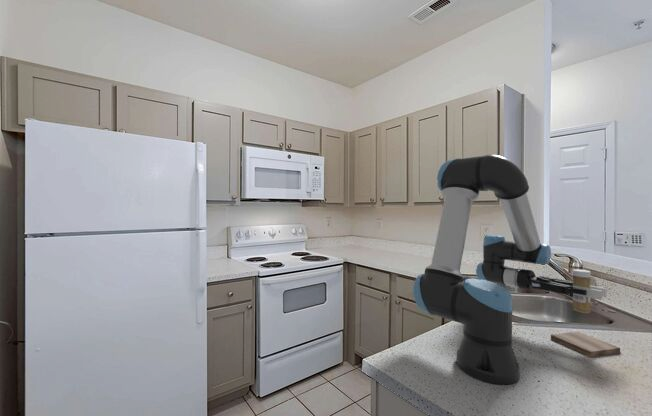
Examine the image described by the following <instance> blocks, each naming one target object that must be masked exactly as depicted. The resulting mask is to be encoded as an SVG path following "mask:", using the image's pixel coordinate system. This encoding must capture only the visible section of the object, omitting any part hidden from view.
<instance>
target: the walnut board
mask: <svg viewBox="0 0 652 416" xmlns="http://www.w3.org/2000/svg"><path fill="white" fill-rule="evenodd" d="M550 340H552V341H554V342H557V343H559V344H561V345H563V346H566V347H568V348H570V349H572V350H575V351H577V352H579V353H581V354H584V355H585V356H588V357H590V358H591V357H600V356H605V355H606V356H607V355H613V354H621V347H619V346H617V345H613V344H611V343H608V342H606V341H604V340H600V339H598V338H595V337H593V336H590V335H588V334H585V333H583V332H580V331H573V332H563V333H552V334H550Z"/></svg>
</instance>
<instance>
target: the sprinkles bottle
mask: <svg viewBox="0 0 652 416" xmlns="http://www.w3.org/2000/svg"><path fill="white" fill-rule="evenodd" d="M571 272H572V273H571V275H572V281H573V288H574V286H579V287H584V288H590V286H591V277H592V272H591V271H590V270H587V269H578V268H577V269H576V268H575V269H572V271H571ZM571 309H572V310H573V311H575V312H577V313H582V314H590V313H591V312H592V311H591V298H589V297H584V296H579V295H574V293H573V297H572V308H571Z"/></svg>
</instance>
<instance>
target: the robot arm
mask: <svg viewBox="0 0 652 416" xmlns="http://www.w3.org/2000/svg"><path fill="white" fill-rule="evenodd" d="M436 181H437V187H438V189H439V190H440V192H441V195H442V197H444V201H443V206H442V211H441V215H440V220H439V226H438V230H437V235H436V240H435V245H434V250H433V254H432V258H431V259H432V260H431V264H430V265H428V266H425V268H424V273H421V274H418V275H417V276H416V278H415V279H414V283H413V290H412V291H413V292H412V293H413V299H414V302H415V305H416V306H417V307H418V309H419V310H421V311H422V312H425V313H427V314H429V315H432V316H437V317H440V318H444V319H446V320H449V321H453V322H455V323H456V322H457V323H460V324H462V325H463V336H462V338H461V342H460V344H459V347H458V349H457V351H456V355H455V356H456V362H455V363H456V365H457V366H458V368H459V369H460V370H461V371H463V373H465V374H467V375H468V376H471V377H473V378H474V379H477V380H480V381H483V382H486V383H491V384H495V385H511V384H515V383H516V382H519V380H520V378H521V377H520V376H521V375H520V374H521V373H520V365H519V363H518V361H517V357H516V354H515V351H514V348H513V310H514V306H513V299H512V294H511V292H510V291H509V290H508V289H507V288H506V287H507V286H509V288H511V289H514V288H517V289H518V288H519V289H520V290H526V291H532V290H534V289H535V290H542V291H547V292H548V291H549V292H553V293H558V294H562V295H569V297H572V298H573V293H574V295H579V296H584V297H589V298H590V299H595V300H600V301H601V300H602V299H603V297H604V298H607V288H606V287H600V286H595V285H590V288H584V287H579V286H574V288H573V280H572V281H571V280H567V279H561V278H555V277H550V276H545V275H543V276H542V275H539V276H536V274H535V272H534V271H533V270H531V269H527V268H520V267H514V266H510V265H509V266H508V265H507V266H506V265H505V261H514V262H521V263H527V264H534V265H548V264H550V261H551V257H552V250H551V249H552V248H551V246H550V245H549V244H546V243H541V240H540V237H539V233H538V230H537V225H536V222H535V219H534V215H533V211H532V209H531V207H532V206H531V203H530V200H529V197H528V194H527V193H528V192H529V190H530V186H529V183H528V180H527V177H526V175H525V173H524V172H523V171H522V169H520V167H519V166H518V165H517V164H515V163H514V162H513V161H511V160H510V159H508V158H506V157H504V156H501V155H497V154H485V155H479V156H471V157H464V158H454V159H450V160H447V161H445V162H444V163H442V164H441V166H440V167H439V169H438V172H437V177H436ZM487 191H490V192H491V191H492V192H493V193H494V195H495V198H497V199H499V200H500V203H501V205H502V209H503V211H504V214H505V218H506V220H507V223H508V226H509V229H510V231H511V235H512V238H513V241H512V240H506V237H505V235H501V234H500V235H498V234H487V235H484V237H483V243H482V244H483V245H482V247H483V248H482V249H483V250H482V251H483V252H482V253H483V254H482V255H483V257H482V259H483V261H482V262H479V263H478V264H477V265H476V269H475V273H476V277H477V278H467V279H465V276H464V275H463V274H462V273H461V266H462V261H463V254H464V249H465V244H466V237H467V231H468V226H469V222H470V215H471V210H472V205H473V202H475V201H476V200H478V199H479V195H480V192H487ZM505 286H506V287H505Z"/></svg>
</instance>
